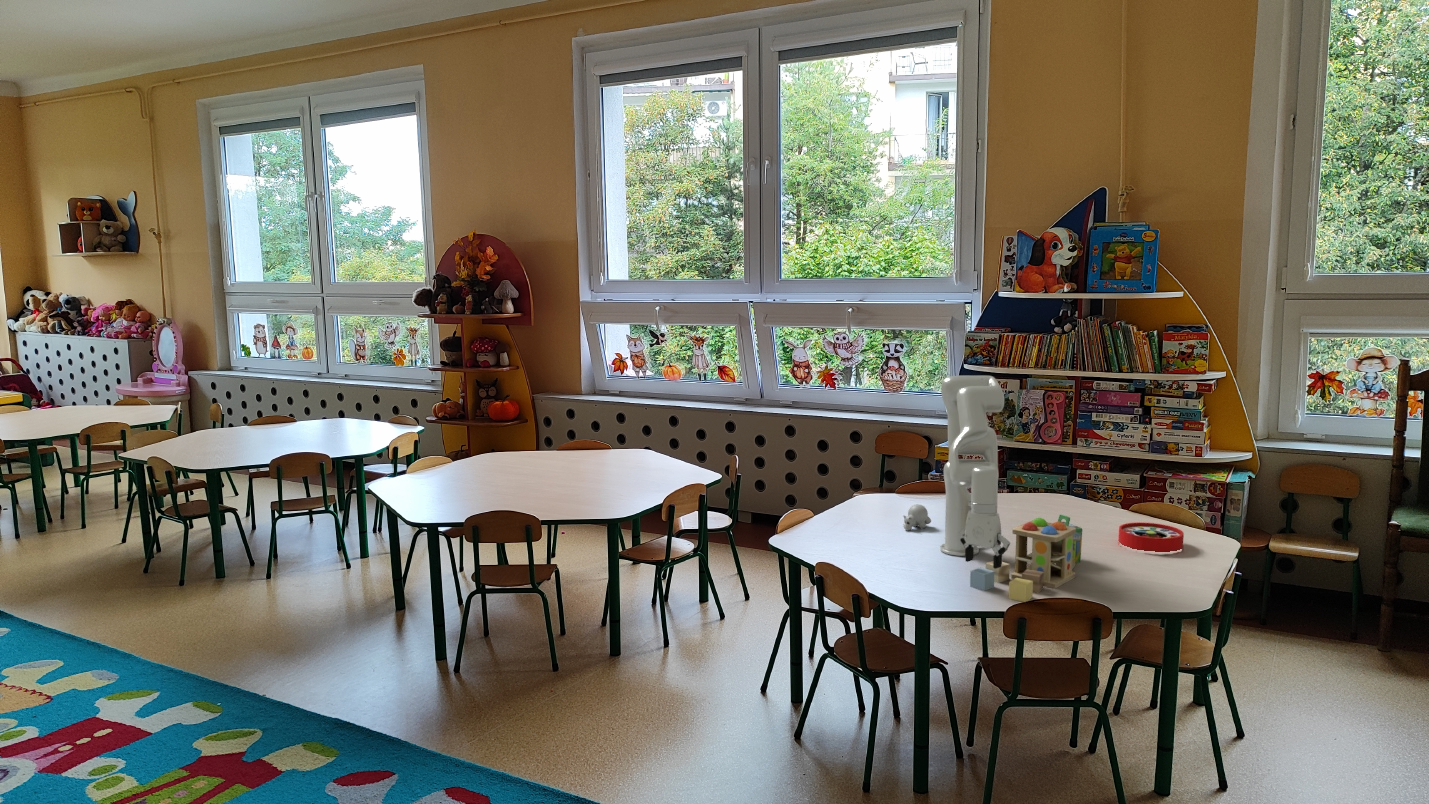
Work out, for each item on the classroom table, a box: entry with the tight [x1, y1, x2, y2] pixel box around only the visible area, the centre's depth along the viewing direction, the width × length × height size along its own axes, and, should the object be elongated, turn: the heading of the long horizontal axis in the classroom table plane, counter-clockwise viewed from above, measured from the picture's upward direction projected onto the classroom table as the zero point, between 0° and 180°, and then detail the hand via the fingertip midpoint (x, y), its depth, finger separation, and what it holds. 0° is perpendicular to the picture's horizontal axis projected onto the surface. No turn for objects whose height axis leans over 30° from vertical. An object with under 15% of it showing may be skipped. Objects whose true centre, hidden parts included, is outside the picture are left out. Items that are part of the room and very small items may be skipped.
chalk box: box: [1055, 514, 1083, 563], centre depth 303 cm, size 9×9×15 cm
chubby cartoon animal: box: [903, 503, 932, 531], centre depth 343 cm, size 7×12×8 cm, turn 125°
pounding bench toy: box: [1010, 517, 1076, 589], centre depth 289 cm, size 23×14×18 cm, turn 135°
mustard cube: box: [1008, 578, 1034, 603], centre depth 269 cm, size 5×5×5 cm
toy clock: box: [1118, 521, 1185, 552], centre depth 317 cm, size 20×6×20 cm
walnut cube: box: [1022, 569, 1045, 594], centre depth 277 cm, size 5×5×5 cm
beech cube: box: [985, 561, 1011, 584], centre depth 286 cm, size 5×5×5 cm
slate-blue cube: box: [969, 567, 995, 592], centre depth 279 cm, size 5×5×5 cm
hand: (983, 564), depth 278 cm, fingers open, 9 cm apart
